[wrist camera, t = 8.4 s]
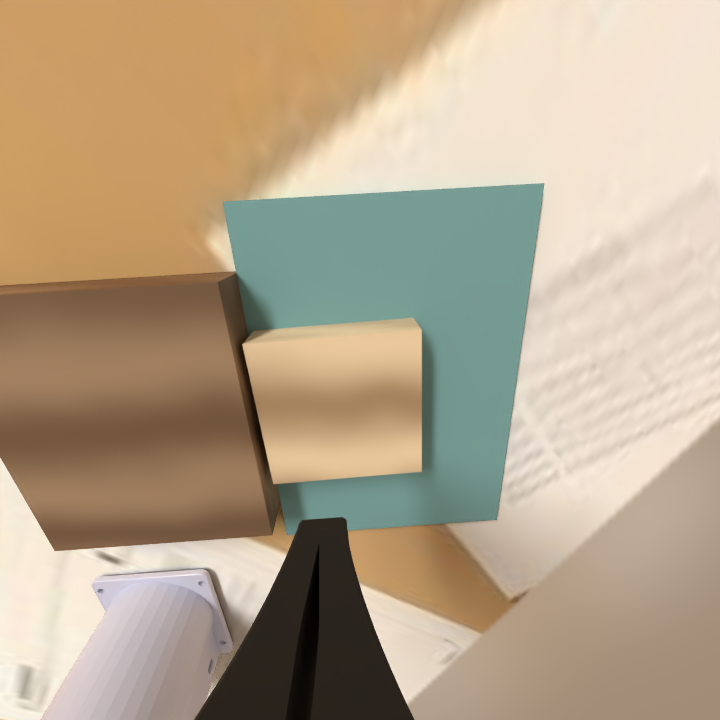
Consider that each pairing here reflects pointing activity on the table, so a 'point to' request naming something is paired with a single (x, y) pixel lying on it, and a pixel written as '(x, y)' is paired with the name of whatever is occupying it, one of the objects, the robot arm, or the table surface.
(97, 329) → the brown wooden slab
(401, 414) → the coaster
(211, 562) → the table surface
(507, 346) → the mat
